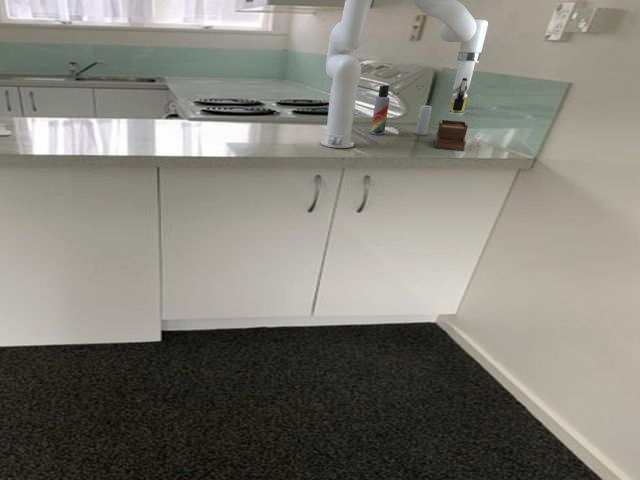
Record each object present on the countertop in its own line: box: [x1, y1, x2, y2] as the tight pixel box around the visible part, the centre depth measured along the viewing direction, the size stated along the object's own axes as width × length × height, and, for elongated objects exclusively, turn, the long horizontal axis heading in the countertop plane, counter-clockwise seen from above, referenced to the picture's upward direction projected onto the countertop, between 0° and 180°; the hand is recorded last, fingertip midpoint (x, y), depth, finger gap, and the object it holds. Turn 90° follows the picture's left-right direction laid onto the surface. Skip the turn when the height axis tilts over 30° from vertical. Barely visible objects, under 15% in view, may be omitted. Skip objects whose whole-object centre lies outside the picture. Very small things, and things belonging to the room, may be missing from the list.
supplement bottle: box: [448, 88, 468, 116], centre depth 162 cm, size 5×5×10 cm
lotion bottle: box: [370, 85, 390, 136], centre depth 180 cm, size 6×6×20 cm
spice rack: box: [434, 119, 469, 152], centre depth 165 cm, size 15×10×8 cm, turn 159°
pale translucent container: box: [414, 104, 433, 136], centre depth 183 cm, size 5×5×12 cm
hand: (456, 108), depth 163 cm, fingers closed on supplement bottle, 5 cm apart
